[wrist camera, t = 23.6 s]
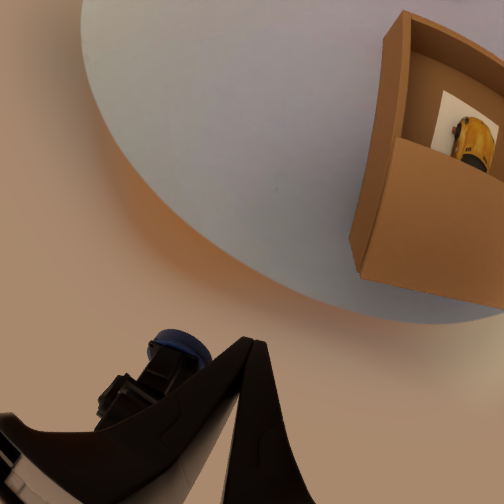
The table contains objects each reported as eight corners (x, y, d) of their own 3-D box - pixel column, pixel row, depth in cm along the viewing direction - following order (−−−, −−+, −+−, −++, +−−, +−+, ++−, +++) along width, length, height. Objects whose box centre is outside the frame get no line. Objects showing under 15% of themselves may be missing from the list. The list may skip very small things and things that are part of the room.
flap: (518, 310, 12) (520, 313, 12) (358, 275, 15) (359, 278, 14) (555, 216, 9) (558, 218, 9) (394, 136, 11) (396, 136, 11)
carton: (488, 275, 18) (515, 308, 13) (348, 238, 20) (356, 272, 15) (527, 112, 11) (565, 115, 6) (383, 37, 13) (402, 9, 8)
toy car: (492, 133, 12) (509, 134, 10) (462, 231, 16) (475, 242, 14) (453, 107, 13) (468, 105, 11) (422, 213, 17) (434, 223, 15)
